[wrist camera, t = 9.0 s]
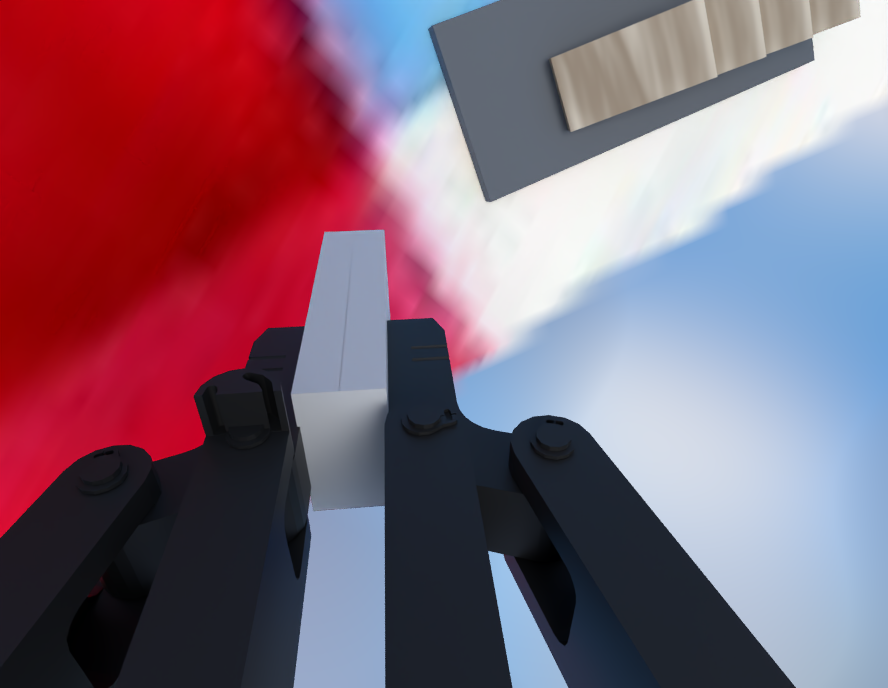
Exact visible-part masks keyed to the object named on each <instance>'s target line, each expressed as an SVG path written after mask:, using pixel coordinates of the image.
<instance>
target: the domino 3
mask: <svg viewBox="0 0 888 688" xmlns="http://www.w3.org/2000/svg"><path fill="white" fill-rule="evenodd" d="M759 6H760V14H761V21H762V28H763V35H764V42H765V50H766V55H767V54H769V53H772V52H775V51H777V50H780V49H783V48H786V47H788V46H791V45H794V44H796V43H799V42H802V41H805V40H807V39H810V38H813V31H812V22H811V13H810V3H809V0H759Z"/></svg>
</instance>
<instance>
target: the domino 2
mask: <svg viewBox="0 0 888 688" xmlns="http://www.w3.org/2000/svg"><path fill="white" fill-rule="evenodd" d="M704 2H705V8H706V14H707V19H708V25H709V31H710V36H711V42H712V48H713V53H714V59H715V65H716V70H717V75H719V74H721V73H724V72H727V71H730V70H732V69H735V68H738V67H740V66H743V65H746V64H748V63H751V62H754V61H756V60H759V59H762V58H765V57H766V50H765V42H764V35H763V28H762V21H761V14H760V6H759V0H704Z"/></svg>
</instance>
